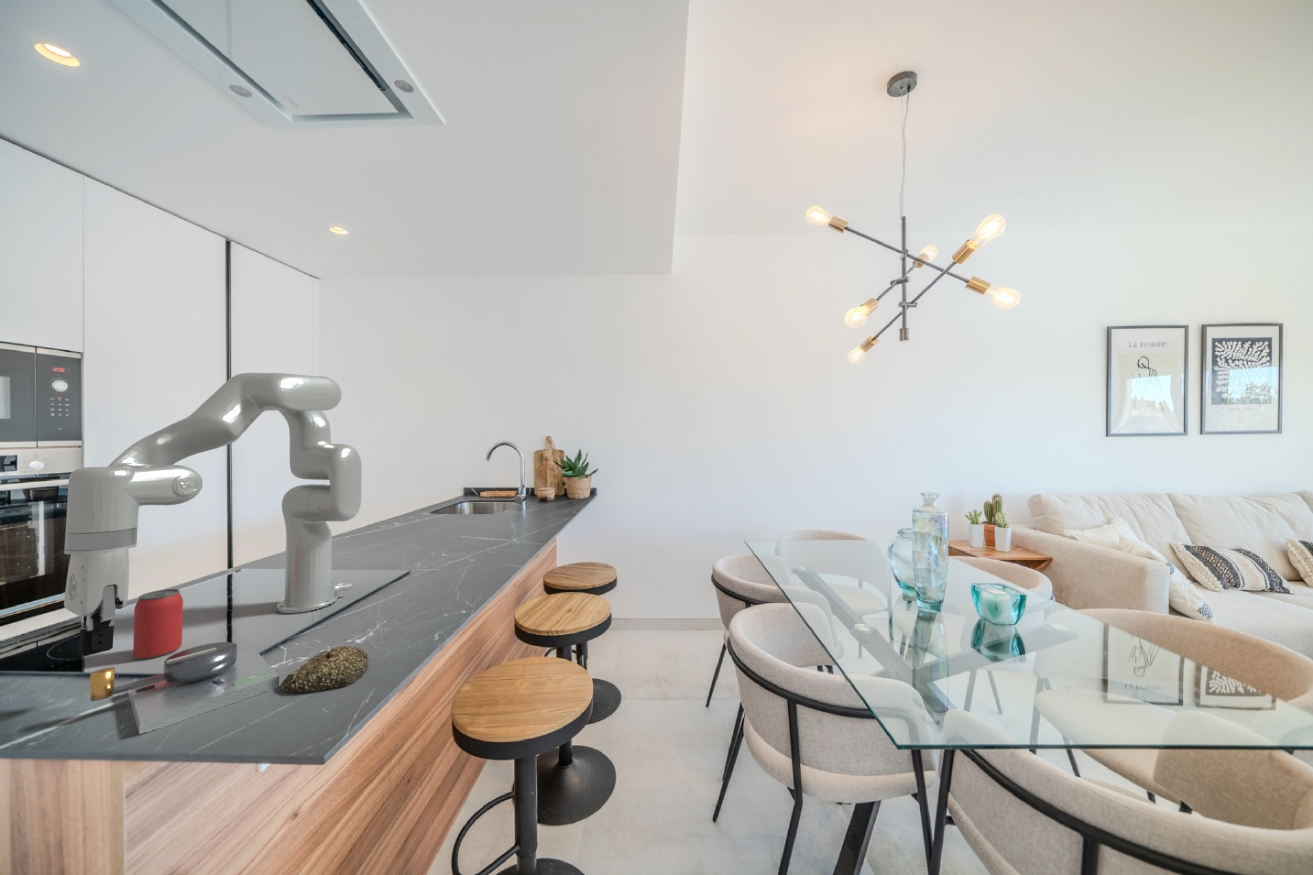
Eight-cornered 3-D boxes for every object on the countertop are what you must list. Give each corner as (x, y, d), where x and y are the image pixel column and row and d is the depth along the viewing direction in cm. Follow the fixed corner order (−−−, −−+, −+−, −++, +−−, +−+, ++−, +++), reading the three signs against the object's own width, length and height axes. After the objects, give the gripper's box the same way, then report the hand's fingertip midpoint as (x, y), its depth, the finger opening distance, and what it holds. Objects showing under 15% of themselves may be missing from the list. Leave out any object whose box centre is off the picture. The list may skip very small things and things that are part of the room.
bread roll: (350, 691, 77) (351, 663, 77) (269, 698, 75) (270, 669, 75) (381, 656, 90) (382, 632, 90) (313, 661, 87) (314, 636, 87)
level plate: (253, 658, 88) (253, 644, 88) (279, 687, 78) (279, 672, 78) (128, 694, 75) (128, 679, 75) (139, 735, 65) (139, 717, 65)
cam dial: (230, 651, 84) (230, 630, 85) (242, 665, 79) (242, 643, 79) (88, 690, 71) (89, 665, 71) (91, 710, 66) (91, 683, 66)
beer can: (148, 662, 85) (150, 600, 86) (123, 658, 87) (125, 597, 87) (190, 646, 92) (192, 589, 92) (166, 643, 93) (168, 586, 93)
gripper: (51, 540, 73) (45, 651, 73) (80, 550, 67) (73, 672, 66) (120, 532, 80) (115, 634, 80) (152, 541, 74) (146, 652, 73)
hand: (96, 651), depth 73 cm, fingers closed
